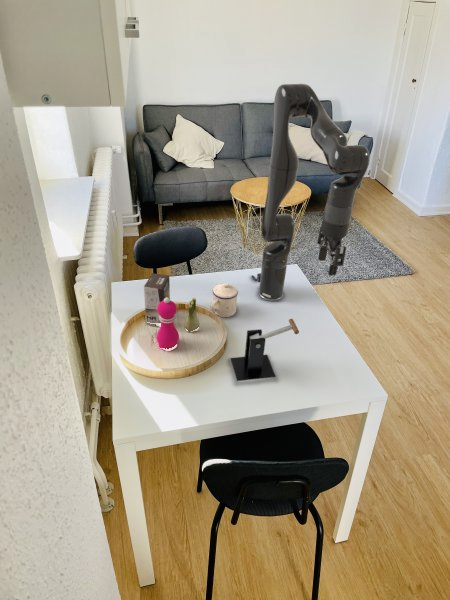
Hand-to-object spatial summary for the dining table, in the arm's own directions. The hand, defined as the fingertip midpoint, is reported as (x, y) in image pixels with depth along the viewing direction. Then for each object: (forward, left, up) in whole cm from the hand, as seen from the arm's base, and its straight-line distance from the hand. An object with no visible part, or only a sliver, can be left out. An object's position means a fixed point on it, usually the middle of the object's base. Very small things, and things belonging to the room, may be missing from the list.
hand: (326, 267), depth 137 cm
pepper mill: (-4, -48, -30) cm, 57 cm away
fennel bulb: (-12, -39, -30) cm, 51 cm away
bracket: (+10, -23, -30) cm, 39 cm away
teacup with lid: (-21, -27, -30) cm, 46 cm away
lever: (+10, -17, -17) cm, 26 cm away
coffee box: (-20, -50, -30) cm, 62 cm away
